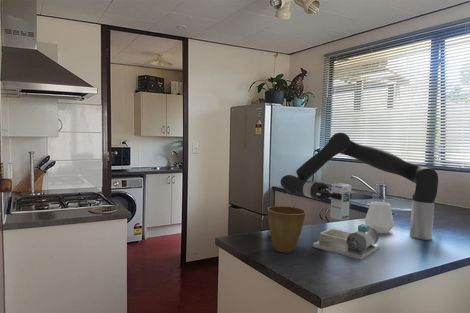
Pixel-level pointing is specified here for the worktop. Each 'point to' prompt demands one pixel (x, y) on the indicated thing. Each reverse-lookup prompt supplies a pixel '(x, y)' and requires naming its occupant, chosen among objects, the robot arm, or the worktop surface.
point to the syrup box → (341, 202)
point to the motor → (349, 241)
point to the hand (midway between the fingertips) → (346, 196)
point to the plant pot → (285, 226)
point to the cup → (380, 217)
